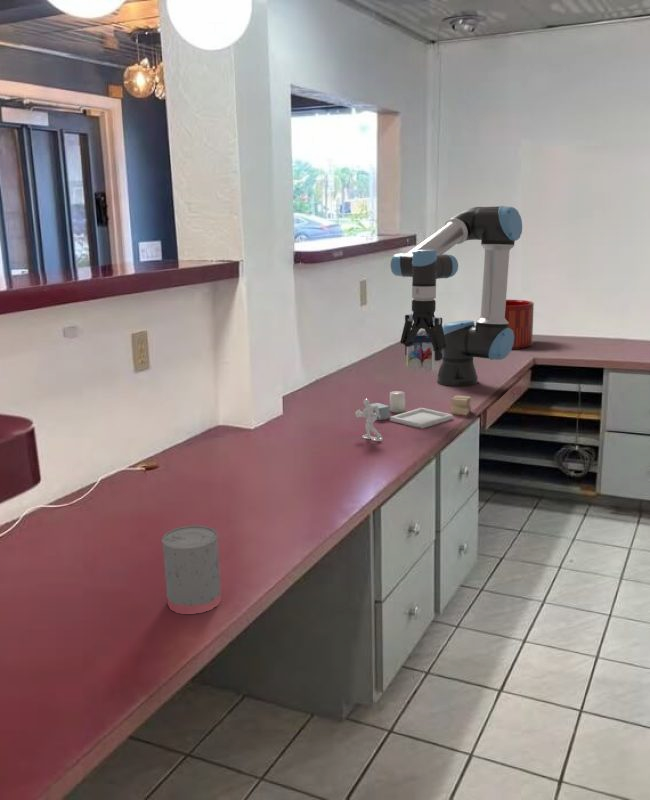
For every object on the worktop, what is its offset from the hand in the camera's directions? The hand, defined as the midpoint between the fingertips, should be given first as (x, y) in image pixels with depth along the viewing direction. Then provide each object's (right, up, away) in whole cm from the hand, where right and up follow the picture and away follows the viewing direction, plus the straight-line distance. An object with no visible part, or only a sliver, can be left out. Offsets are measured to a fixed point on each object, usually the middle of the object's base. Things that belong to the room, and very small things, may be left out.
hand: (422, 368), depth 253 cm
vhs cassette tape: (+15, +8, +93) cm, 95 cm away
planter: (+54, +15, +116) cm, 129 cm away
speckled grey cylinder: (-55, -46, -115) cm, 135 cm away
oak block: (+13, -14, +3) cm, 19 cm away
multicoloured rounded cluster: (0, -1, 0) cm, 1 cm away
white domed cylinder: (-7, -14, +7) cm, 17 cm away
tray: (-1, -17, -5) cm, 17 cm away
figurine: (-19, -22, -23) cm, 37 cm away
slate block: (-14, -16, 0) cm, 21 cm away
